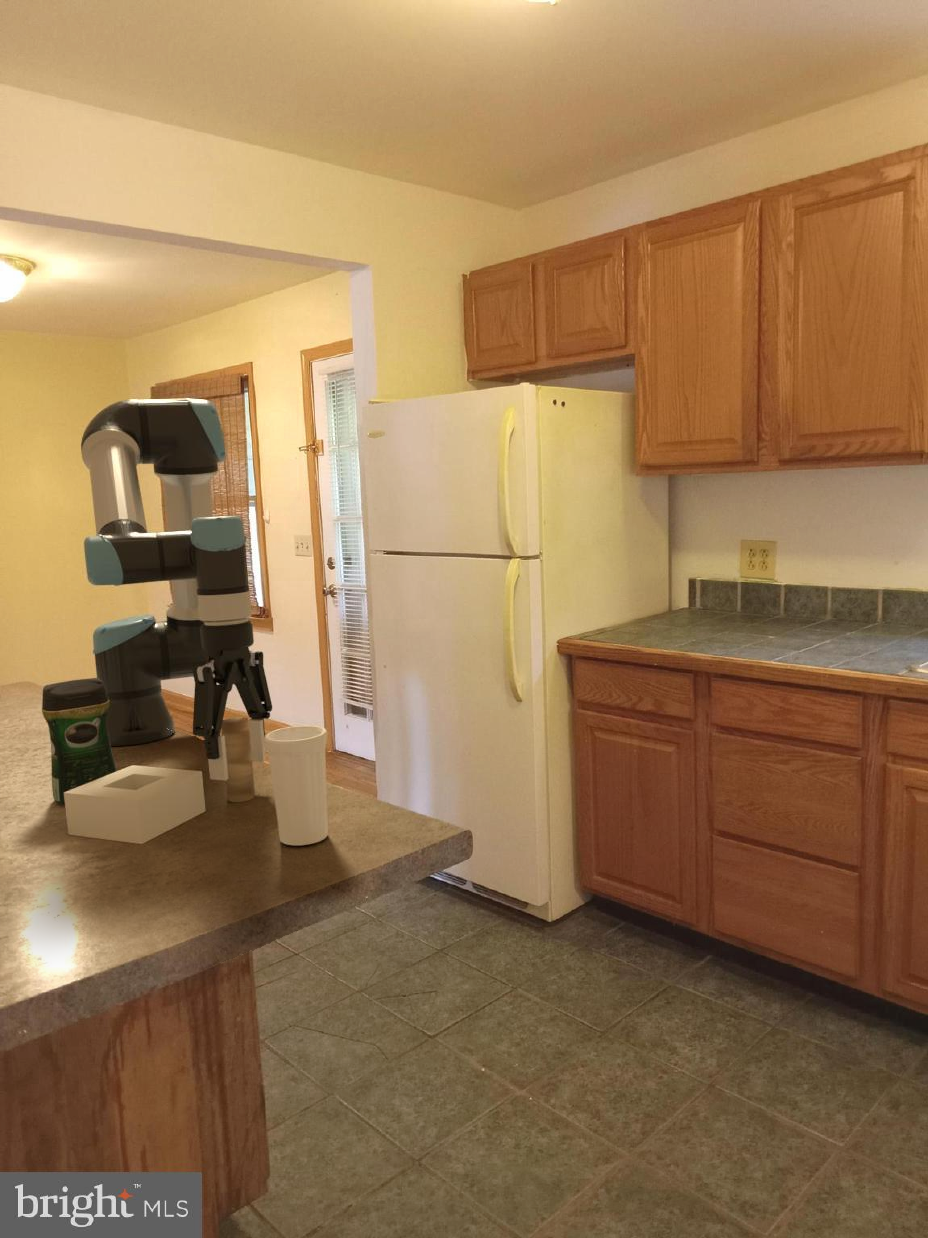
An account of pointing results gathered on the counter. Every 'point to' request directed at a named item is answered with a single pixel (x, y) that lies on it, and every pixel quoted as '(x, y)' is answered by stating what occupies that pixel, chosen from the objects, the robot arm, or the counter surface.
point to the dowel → (238, 759)
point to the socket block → (134, 803)
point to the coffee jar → (77, 733)
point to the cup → (299, 782)
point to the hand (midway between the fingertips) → (238, 769)
